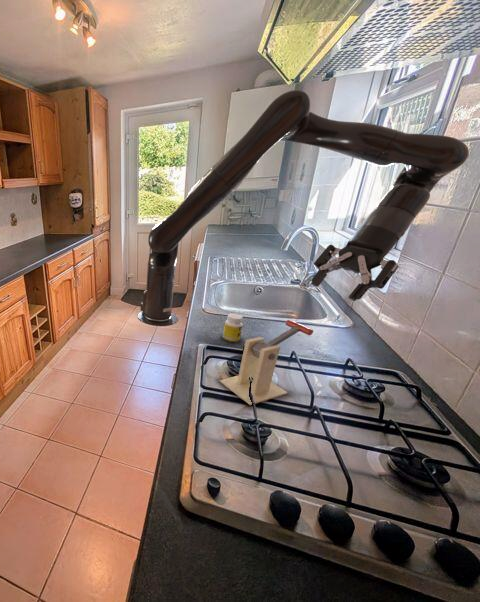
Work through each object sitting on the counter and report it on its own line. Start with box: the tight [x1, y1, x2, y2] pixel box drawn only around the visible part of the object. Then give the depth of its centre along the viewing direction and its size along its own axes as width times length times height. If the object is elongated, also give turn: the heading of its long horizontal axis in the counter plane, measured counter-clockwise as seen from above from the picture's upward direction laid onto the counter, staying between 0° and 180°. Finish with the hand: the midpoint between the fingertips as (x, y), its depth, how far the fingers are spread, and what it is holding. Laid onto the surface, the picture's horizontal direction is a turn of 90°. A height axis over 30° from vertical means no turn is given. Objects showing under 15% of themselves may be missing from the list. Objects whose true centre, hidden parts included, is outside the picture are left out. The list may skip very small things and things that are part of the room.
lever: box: [252, 319, 314, 358], centre depth 68 cm, size 13×6×2 cm, turn 109°
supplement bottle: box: [222, 313, 244, 343], centre depth 91 cm, size 5×5×8 cm
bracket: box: [219, 336, 288, 406], centre depth 69 cm, size 11×9×13 cm
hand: (332, 292), depth 72 cm, fingers open, 8 cm apart
